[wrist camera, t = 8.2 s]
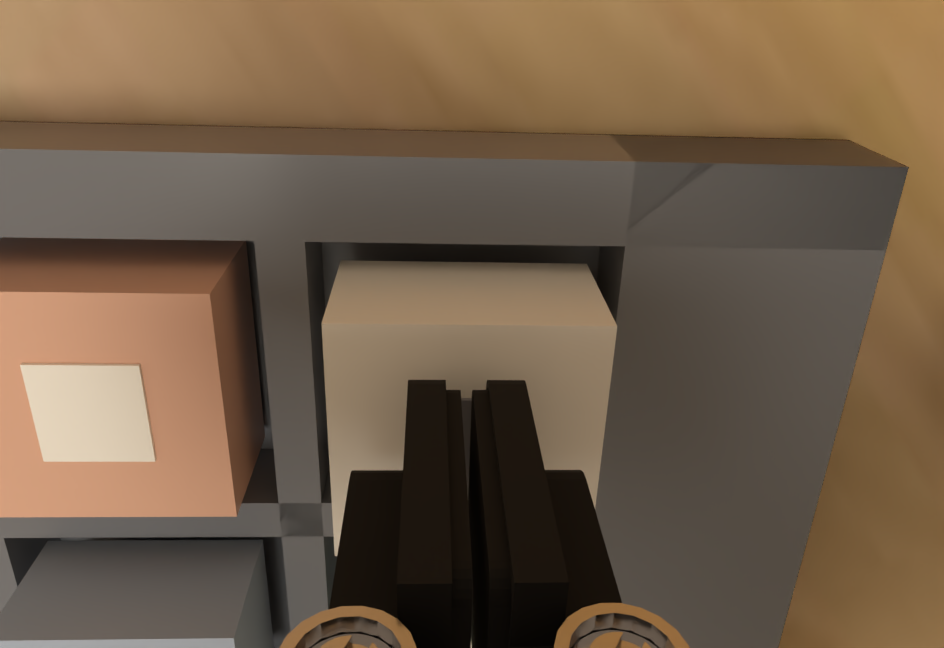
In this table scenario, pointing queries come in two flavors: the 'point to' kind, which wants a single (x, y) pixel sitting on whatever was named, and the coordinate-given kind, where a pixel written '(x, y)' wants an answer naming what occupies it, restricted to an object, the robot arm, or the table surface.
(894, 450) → the table surface
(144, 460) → the key terracotta
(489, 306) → the key ivory
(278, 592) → the keypad frame
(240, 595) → the key slate
